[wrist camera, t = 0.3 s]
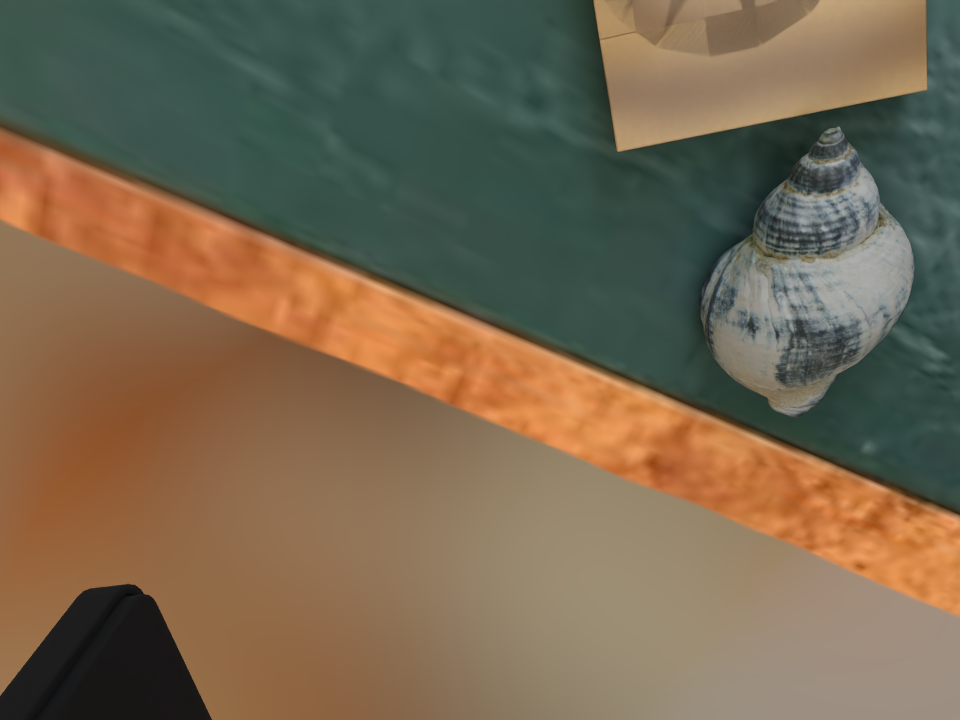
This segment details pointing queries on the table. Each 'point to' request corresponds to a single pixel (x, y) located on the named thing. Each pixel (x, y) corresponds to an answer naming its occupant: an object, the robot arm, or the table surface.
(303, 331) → the table surface
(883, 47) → the holder
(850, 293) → the seashell
